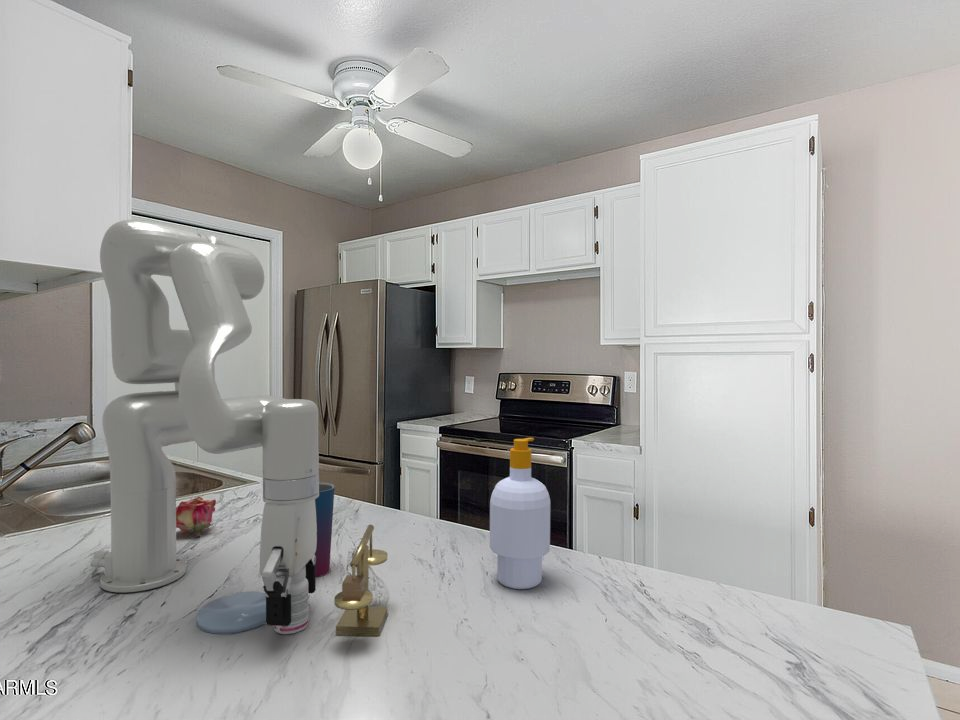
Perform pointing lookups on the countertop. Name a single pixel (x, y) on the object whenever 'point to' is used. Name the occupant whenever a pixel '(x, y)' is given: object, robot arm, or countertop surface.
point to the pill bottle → (296, 603)
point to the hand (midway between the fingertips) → (292, 607)
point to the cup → (324, 527)
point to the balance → (361, 593)
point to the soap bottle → (520, 522)
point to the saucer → (233, 613)
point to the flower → (195, 515)
